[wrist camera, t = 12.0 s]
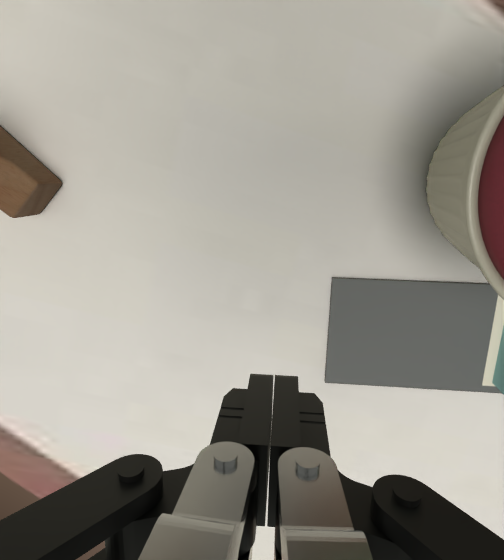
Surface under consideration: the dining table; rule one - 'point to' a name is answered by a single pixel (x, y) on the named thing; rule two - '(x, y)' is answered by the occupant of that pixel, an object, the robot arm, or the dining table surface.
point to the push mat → (414, 334)
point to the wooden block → (23, 180)
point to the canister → (473, 187)
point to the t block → (500, 366)
